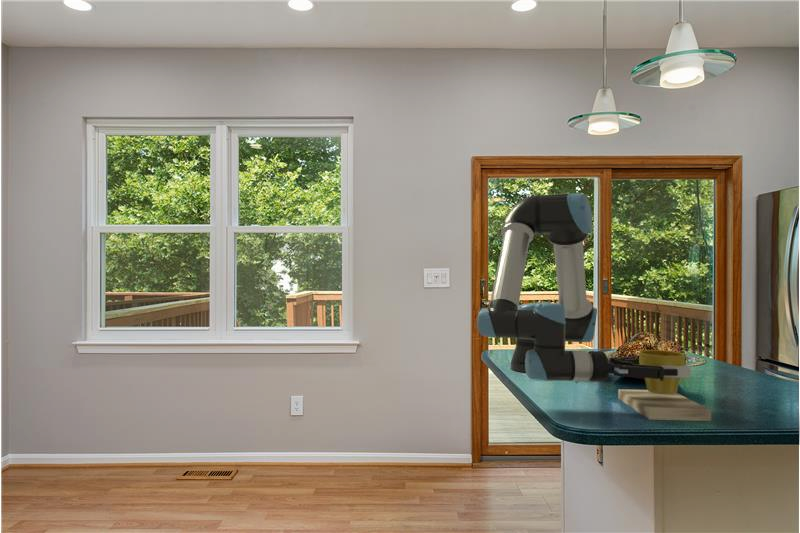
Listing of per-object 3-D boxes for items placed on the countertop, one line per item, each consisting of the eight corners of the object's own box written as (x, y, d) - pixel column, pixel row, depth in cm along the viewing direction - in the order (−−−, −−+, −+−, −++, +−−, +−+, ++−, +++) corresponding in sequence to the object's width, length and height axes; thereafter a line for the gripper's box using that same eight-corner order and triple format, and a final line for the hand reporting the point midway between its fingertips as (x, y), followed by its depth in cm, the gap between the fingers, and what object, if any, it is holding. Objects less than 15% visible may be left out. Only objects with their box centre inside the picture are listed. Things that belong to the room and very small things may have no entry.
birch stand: (618, 398, 143) (618, 389, 143) (671, 399, 142) (671, 390, 142) (649, 419, 123) (649, 408, 123) (711, 420, 122) (711, 410, 122)
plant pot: (637, 393, 130) (637, 353, 130) (640, 385, 140) (640, 348, 140) (685, 398, 126) (685, 357, 126) (684, 390, 135) (685, 351, 135)
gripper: (575, 372, 145) (658, 374, 144) (603, 391, 122) (702, 393, 121) (575, 344, 145) (658, 346, 144) (603, 358, 122) (702, 360, 121)
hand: (678, 367), depth 132 cm, fingers closed on plant pot, 10 cm apart
